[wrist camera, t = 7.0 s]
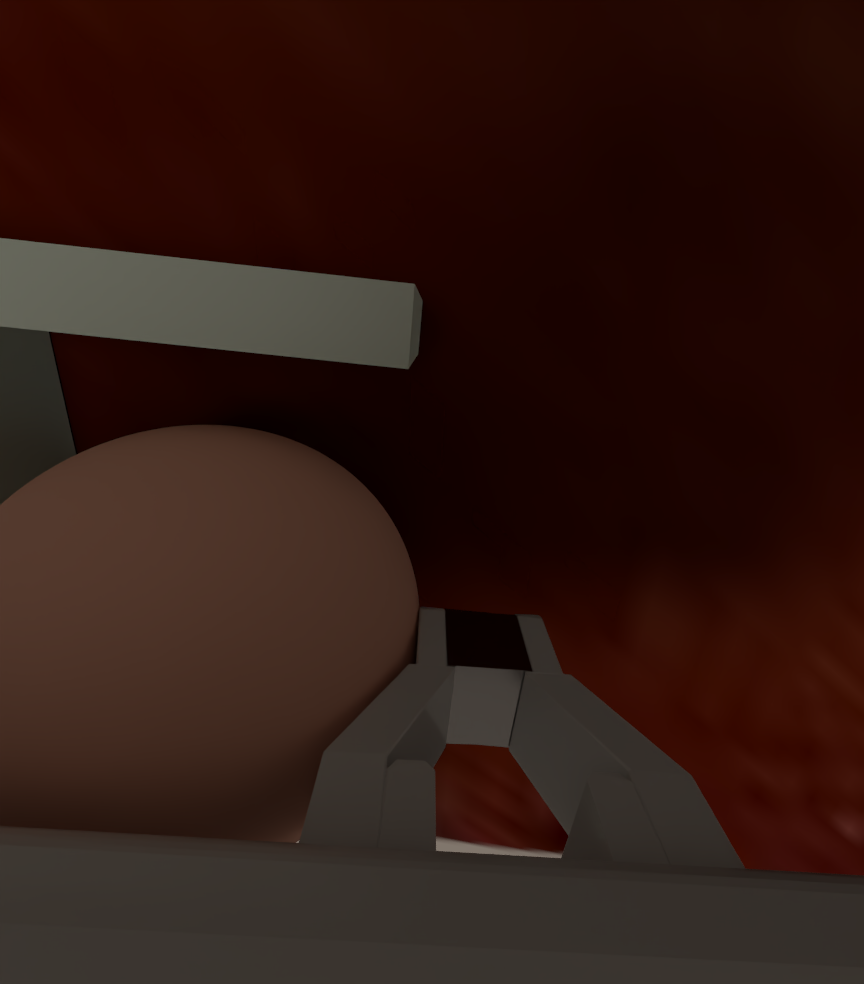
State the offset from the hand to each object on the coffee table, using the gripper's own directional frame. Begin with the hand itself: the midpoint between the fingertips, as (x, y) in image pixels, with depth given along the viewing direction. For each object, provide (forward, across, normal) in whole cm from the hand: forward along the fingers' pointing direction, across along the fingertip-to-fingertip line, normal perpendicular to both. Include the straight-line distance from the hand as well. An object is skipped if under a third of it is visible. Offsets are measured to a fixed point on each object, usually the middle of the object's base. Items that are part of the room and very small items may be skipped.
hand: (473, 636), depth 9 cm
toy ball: (+4, +5, 0) cm, 6 cm away
